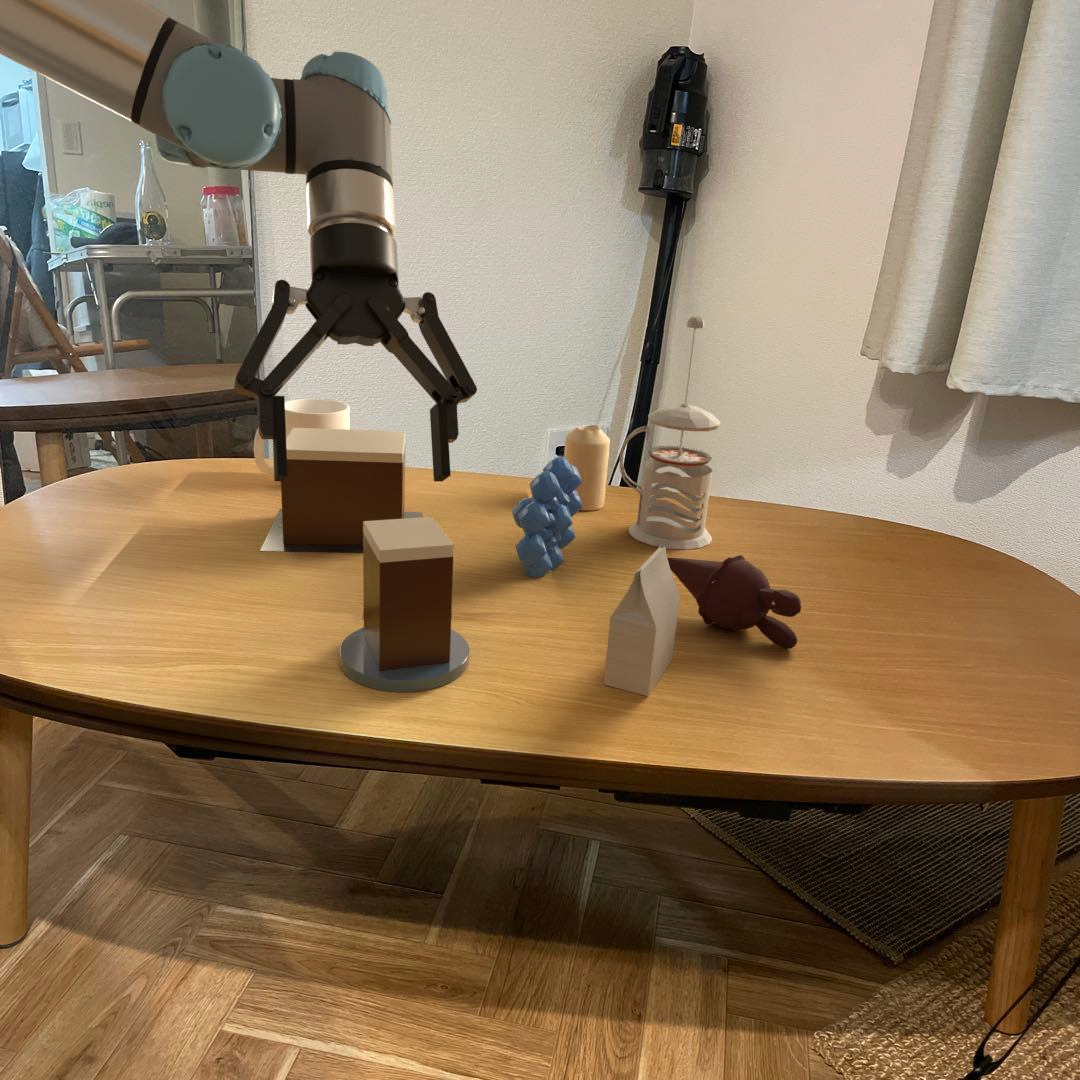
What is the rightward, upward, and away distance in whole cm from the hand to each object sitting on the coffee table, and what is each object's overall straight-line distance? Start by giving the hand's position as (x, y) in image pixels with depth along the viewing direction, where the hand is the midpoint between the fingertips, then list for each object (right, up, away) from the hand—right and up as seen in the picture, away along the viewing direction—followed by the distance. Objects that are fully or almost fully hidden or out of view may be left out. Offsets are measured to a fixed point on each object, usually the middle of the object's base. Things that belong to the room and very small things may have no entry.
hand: (364, 478), depth 76 cm
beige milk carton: (+23, -16, -2) cm, 28 cm away
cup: (-15, +1, +37) cm, 40 cm away
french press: (+29, -5, +30) cm, 42 cm away
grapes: (+15, -9, +17) cm, 24 cm away
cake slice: (+4, -14, -3) cm, 15 cm away
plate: (+4, -15, -3) cm, 16 cm away
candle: (+20, -1, +38) cm, 43 cm away
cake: (-6, -4, +21) cm, 22 cm away
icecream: (+32, -13, +7) cm, 35 cm away
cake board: (-6, -5, +21) cm, 23 cm away
